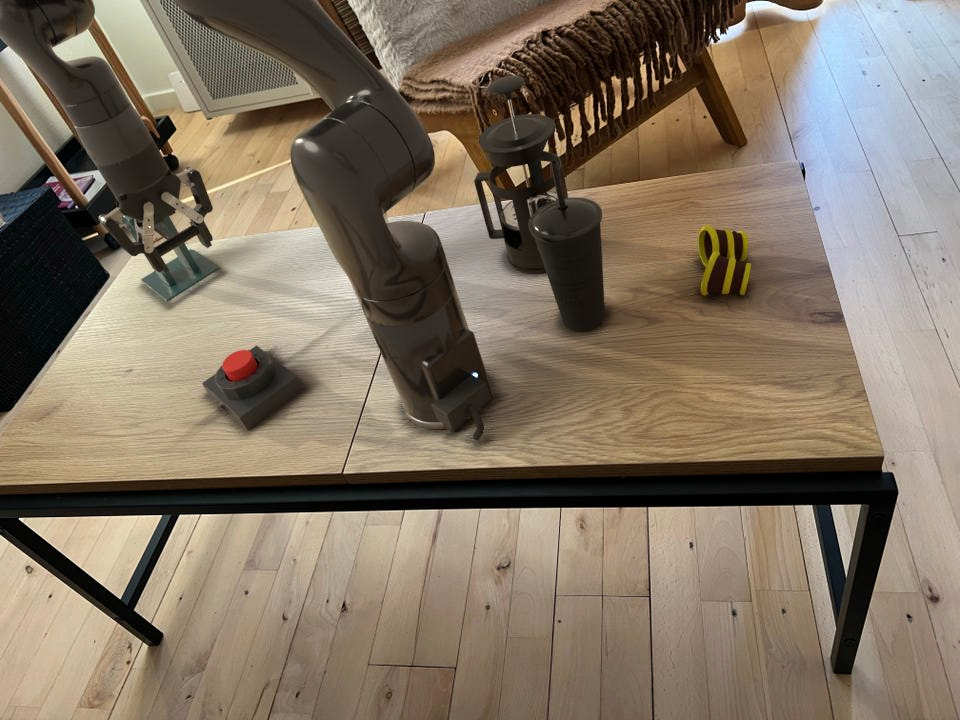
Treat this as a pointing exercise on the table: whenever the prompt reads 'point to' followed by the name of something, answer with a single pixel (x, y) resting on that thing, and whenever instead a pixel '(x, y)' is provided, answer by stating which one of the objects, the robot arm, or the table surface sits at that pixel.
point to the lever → (173, 237)
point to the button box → (254, 390)
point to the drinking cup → (572, 256)
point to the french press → (516, 147)
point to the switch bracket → (175, 266)
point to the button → (239, 365)
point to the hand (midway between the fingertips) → (186, 257)
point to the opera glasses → (723, 260)
